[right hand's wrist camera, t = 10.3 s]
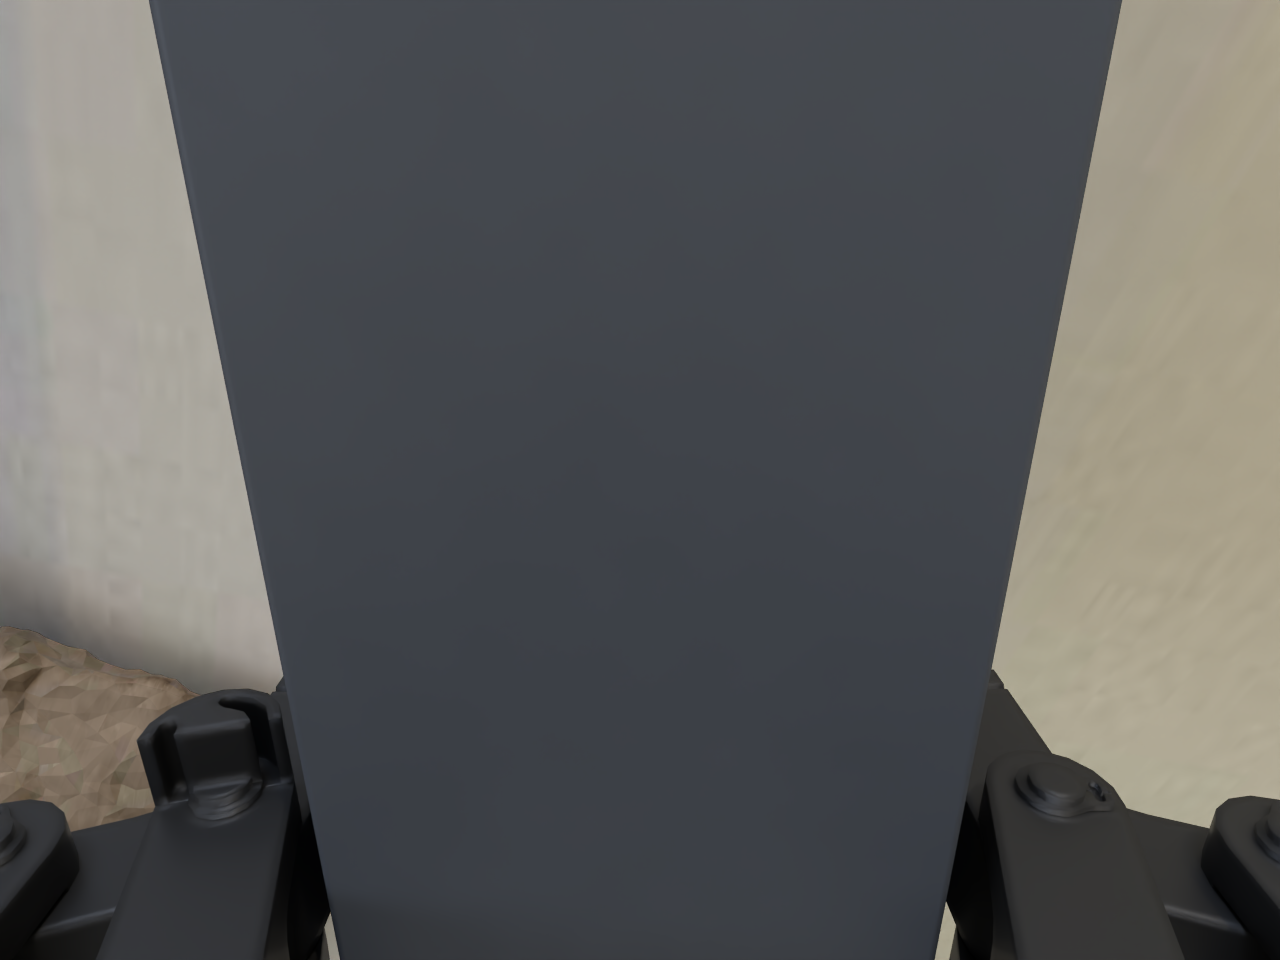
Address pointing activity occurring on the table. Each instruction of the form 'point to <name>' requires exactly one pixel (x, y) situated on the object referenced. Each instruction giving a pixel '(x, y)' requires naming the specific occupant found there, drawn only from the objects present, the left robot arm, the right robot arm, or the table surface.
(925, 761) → the bar
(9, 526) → the table surface
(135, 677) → the stone
